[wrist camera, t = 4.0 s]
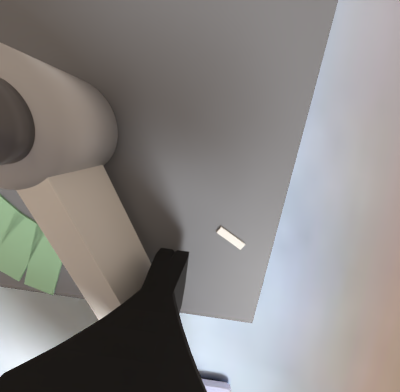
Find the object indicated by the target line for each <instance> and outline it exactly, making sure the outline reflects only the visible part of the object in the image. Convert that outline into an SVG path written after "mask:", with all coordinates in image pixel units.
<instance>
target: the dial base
mask: <svg viewBox="0 0 400 392" xmlns="http://www.w3.org/2000/svg"><path fill="white" fill-rule="evenodd" d="M337 3H338V0H0V43H3V44H5V45H7V46H9V47H11V48H14V49H16V50H18V51H20V52H22V53H25V54H27V55H29V56H31V57H33V58H35V59H38V60H40V61H42V62H44V63H46V64H49V65H51V66H53V67H55V68H57V69H59V70H62V71H64V72H66V73H68V74H70V75H72V76H75V77H77V78H79V79H81V80H83V81H85V82H87V83H89V84H91V85H92V86H93V87H95V88H96V89H97V90H98V91H99V92H100V93H101V94H102V95H103V96H104V97H105V99H106V100H107V101H108V103H109V104H110V106H111V108H112V110H113V113H114V115H115V118H116V122H117V128H118V139H117V145H116V148H115V151H114V153H113V155H112V157H111V158H110V160H109V161H108V162H107V163H106V164H105V165H104V168H105V170H106V172H107V174H108V176H109V179H110V181H111V183H112V185H113V187H114V189H115V191H116V193H117V195H118V197H119V199H120V201H121V203H122V205H123V207H124V209H125V211H126V213H127V215H128V217H129V219H130V221H131V224H132V226H133V228H134V230H135V232H136V234H137V236H138V238H139V240H140V242H141V244H142V246H143V248H144V250H145V252H146V254H147V256H148V258H149V260H150V262H151V264H152V261H153V259H154V257H155V255H156V253H157V252H158V251H159V249H160V248H167V249H173V250H174V252H175V251H177V250H180V251H187V252H189V259H188V267H187V275H186V283H185V289H184V295H183V301H182V306H181V310H180V313H186V314H193V315H200V316H207V317H214V318H221V319H228V320H234V321H241V322H248V323H252V322H253V318H254V315H255V311H256V307H257V303H258V300H259V296H260V292H261V288H262V284H263V281H264V277H265V273H266V269H267V266H268V262H269V258H270V254H271V251H272V247H273V243H274V239H275V236H276V232H277V228H278V224H279V221H280V217H281V213H282V209H283V206H284V202H285V198H286V194H287V191H288V187H289V183H290V179H291V175H292V172H293V168H294V164H295V160H296V157H297V153H298V149H299V145H300V142H301V138H302V134H303V130H304V127H305V123H306V119H307V115H308V112H309V108H310V104H311V100H312V97H313V93H314V89H315V85H316V81H317V78H318V74H319V70H320V66H321V63H322V59H323V55H324V51H325V48H326V44H327V40H328V36H329V33H330V29H331V25H332V21H333V18H334V14H335V10H336V6H337ZM0 286H1V287H8V288H15V289H22V290H28V291H35V292H42V293H48V294H51V295H53V294H56V295H63V296H70V297H77V298H83V299H85V298H84V296H83V295H82V293H81V292H80V290H79V288H78V287H77V285H76V284H75V282H74V281H73V279H72V277H71V276H70V274H69V273H68V271H67V270H66V268H65V266H64V265H63V263H62V262H61V260H60V259H59V257H58V255H57V254H56V252H55V251H54V249H53V248H52V246H51V244H50V243H49V241H48V240H47V238H46V237H45V235H44V233H43V232H42V230H41V229H40V227H39V226H38V224H37V222H36V221H35V219H34V218H33V216H32V215H31V213H30V211H29V210H28V208H27V207H26V205H25V204H24V202H23V200H22V199H21V197H20V196H19V194H18V193H17V191H16V190H8V189H1V188H0Z"/></svg>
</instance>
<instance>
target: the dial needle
mask: <svg viewBox="0 0 400 392" xmlns="http://www.w3.org/2000/svg"><path fill="white" fill-rule="evenodd" d="M117 139H118V128H117V122H116V118H115V115H114V113H113V110H112V108H111V106H110V104H109V103H108V101H107V100H106V99H105V97H104V96H103V95H102V94H101V93H100V92H99V91H98V90H97V89H96V88H95V87H93V86H92V85H91V84H89V83H87V82H85V81H83V80H81V79H79V78H77V77H75V76H72V75H70V74H68V73H66V72H64V71H62V70H59V69H57V68H55V67H53V66H51V65H49V64H46V63H44V62H42V61H40V60H38V59H35V58H33V57H31V56H29V55H27V54H25V53H22V52H20V51H18V50H16V49H14V48H11V47H9V46H7V45H5V44H3V43H0V188H1V189H8V190H16V191H17V193H18V194H19V196H20V197H21V199H22V200H23V202H24V204H25V205H26V207H27V208H28V210H29V211H30V213H31V215H32V216H33V218H34V219H35V221H36V222H37V224H38V226H39V227H40V229H41V230H42V232H43V233H44V235H45V237H46V238H47V240H48V241H49V243H50V244H51V246H52V248H53V249H54V251H55V252H56V254H57V255H58V257H59V259H60V260H61V262H62V263H63V265H64V266H65V268H66V270H67V271H68V273H69V274H70V276H71V277H72V279H73V281H74V282H75V284H76V285H77V287H78V288H79V290H80V292H81V293H82V295H83V296H84V298H85V299H86V301H87V303H88V304H89V306H90V307H91V309H92V310H93V312H94V314H95V315H96V317H97V318H98V320H100V319H102V318H103V317H104V316H106V315H107V314H109V313H110V312H112V311H113V310H114V309H116V308H117V307H118V306H120V305H121V304H123V303H124V302H125V301H126V300H128V299H129V298H130V297H131V296H133V295H134V294H135V293H136V292H137V291H139V290H140V289H141V287H142V285H143V283H144V281H145V278H146V276H147V273H148V271H149V269H150V266H151V262H150V260H149V258H148V256H147V254H146V252H145V250H144V248H143V246H142V244H141V242H140V240H139V238H138V236H137V234H136V232H135V230H134V228H133V226H132V224H131V221H130V219H129V217H128V215H127V213H126V211H125V209H124V207H123V205H122V203H121V201H120V199H119V197H118V195H117V193H116V191H115V189H114V187H113V185H112V183H111V181H110V179H109V176H108V174H107V172H106V170H105V168H104V165H105V164H106V163H107V162H108V161H109V160H110V158H111V157H112V155H113V153H114V151H115V148H116V145H117Z"/></svg>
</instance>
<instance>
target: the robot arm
mask: <svg viewBox="0 0 400 392" xmlns="http://www.w3.org/2000/svg"><path fill="white" fill-rule="evenodd" d="M188 259H189V252H187V251H180V250H177V251H175V252H174V250H173V249H167V248H160V249H159V251H158V252H157V253H156V255H155V257H154V259H153V261H152V264H151V266H150V269H149V271H148V273H147V276H146V278H145V281H144V283H143V285H142V287H141V289H140V290H139V291H137V292H136V293H135V294H134V295H133V296H131V297H130V298H129V299H128V300H126V301H125V302H124V303H123V304H121V305H120V306H118V307H117V308H116V309H114V310H113V311H112V312H110V313H109V314H107V315H106V316H104V317H103V318H102V319H100V320H99V321H97V322H96V323H94V324H92V325H91V326H89V327H87V328H86V329H84V330H83V331H81V332H79V333H78V334H76V335H74V336H73V337H71V338H69V339H68V340H66V341H64V342H63V343H61V344H59V345H57V346H56V347H54V348H52V349H50V350H48V351H46V352H44V353H42V354H40V355H38V356H37V357H35V358H33V359H31V360H29V361H27V362H25V363H23V364H21V365H19V366H17V367H15V368H13V369H11V370H9V371H7V372H5V373H4V374H3V375H2V376H1V377H0V392H231V387H230V385H229V384H228V383H226V382H221V381H214V380H208V379H201V376H200V374H199V372H198V369H197V367H196V364H195V361H194V359H193V356H192V354H191V351H190V348H189V345H188V342H187V339H186V336H185V333H184V330H183V327H182V323H181V319H180V316H179V313H180V310H181V306H182V301H183V295H184V289H185V283H186V275H187V267H188Z"/></svg>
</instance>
